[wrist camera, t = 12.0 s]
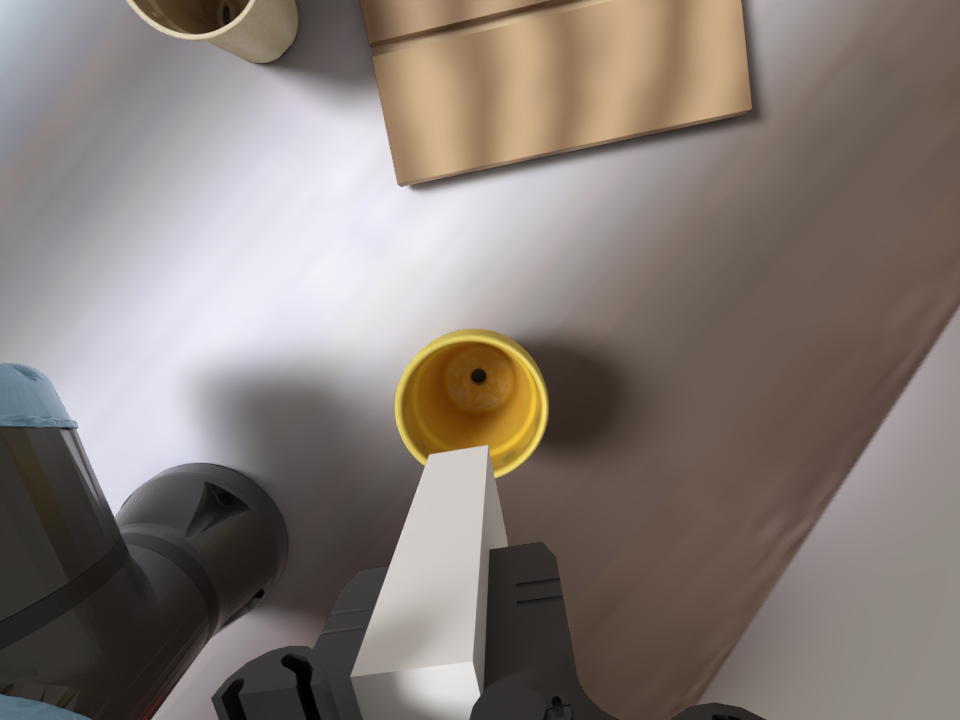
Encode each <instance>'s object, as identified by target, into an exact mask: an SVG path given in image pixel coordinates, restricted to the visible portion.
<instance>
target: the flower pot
mask: <svg viewBox="0 0 960 720" xmlns="http://www.w3.org/2000/svg"><path fill="white" fill-rule="evenodd" d="M127 2H128V3H129V5H130V6H131V7H132V8H133V9H134V10H135V12H136V13H137V14H138V15H139V16H140V17H141V18H142V19H143V20H144V21H146V22H147V23H148V24H150V25H151V26H152V27H154V28H155V29H157V30H159V31H161V32H162V33H164V34H167V35H169V36H172V37H175V38H178V39H181V40H186V41H204V42H208V43H210V44H212V45H214V46H216V47H219V48H221V49H223V50H225V51H227V52H229V53H232V54H234V55H236V56H238V57H240V58H242V59H244V60H246V61H249V62H253V63H267V62H271V61H274V60H276V59H278V58H279V57H280V56H281V55H282V54H283V53H284V52H285V51H286V49H287V48H288V47H289V46H290V45H291V44H292V43H293V42H294V39H295V37H296V33H297V28H298V12H297V7H296V3H295V0H127ZM226 6H227V7H229V14H230V16H229V19H230V21H229V22H230V23H229V24H228V25H226V24H225V23H224V21H223V18H224V9H225V7H226Z"/></svg>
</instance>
